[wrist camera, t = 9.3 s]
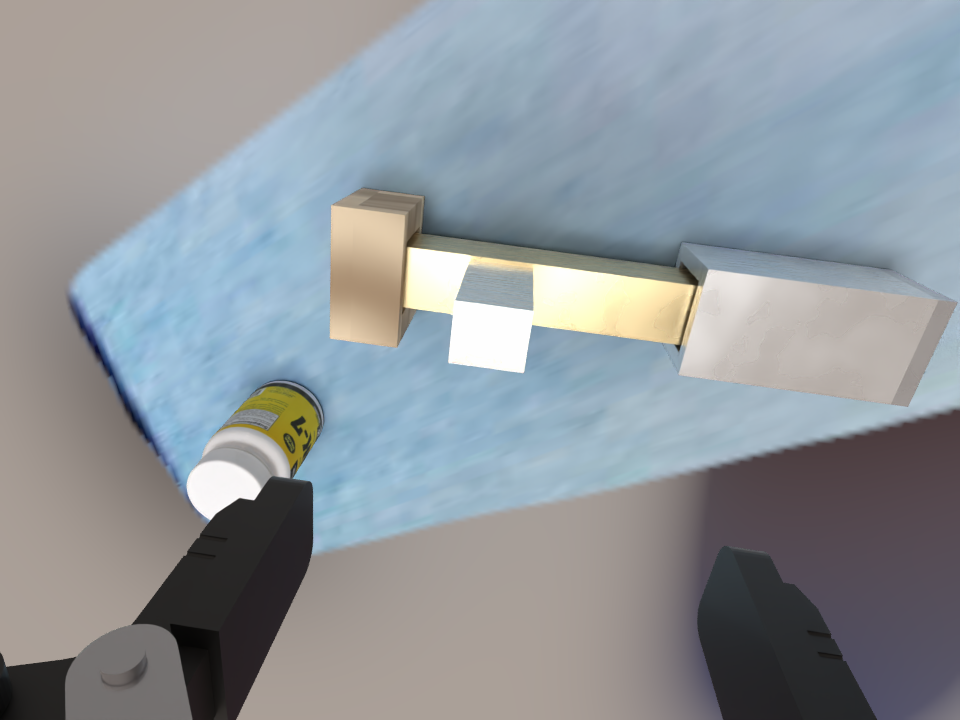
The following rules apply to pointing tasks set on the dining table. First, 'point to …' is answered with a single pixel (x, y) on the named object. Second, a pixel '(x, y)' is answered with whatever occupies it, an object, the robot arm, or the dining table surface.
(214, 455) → the supplement bottle
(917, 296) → the white plaster block
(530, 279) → the tan piece
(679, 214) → the dining table surface
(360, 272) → the socket
